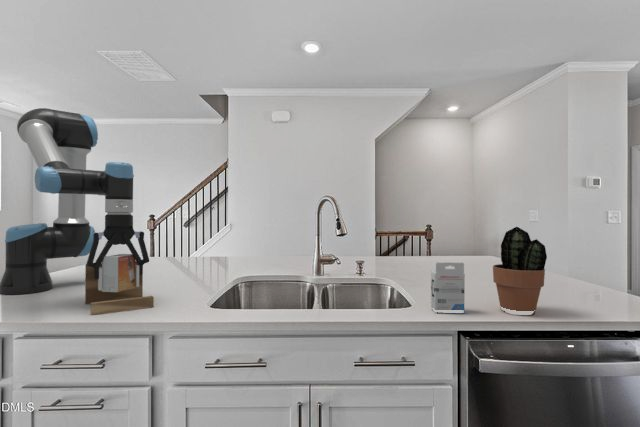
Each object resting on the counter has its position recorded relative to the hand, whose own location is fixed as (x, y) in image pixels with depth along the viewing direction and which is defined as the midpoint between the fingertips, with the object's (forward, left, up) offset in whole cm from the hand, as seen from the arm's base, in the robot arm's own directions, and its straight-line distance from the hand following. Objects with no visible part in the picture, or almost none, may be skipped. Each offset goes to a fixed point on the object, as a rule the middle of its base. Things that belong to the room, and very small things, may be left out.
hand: (118, 287), depth 118 cm
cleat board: (0, 0, -5) cm, 5 cm away
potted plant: (+73, +94, -5) cm, 119 cm away
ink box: (+61, +77, -5) cm, 98 cm away
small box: (0, 0, -1) cm, 1 cm away
